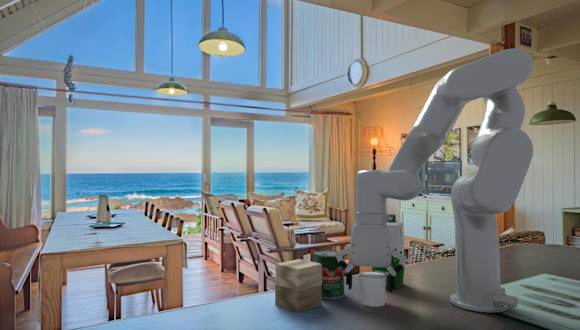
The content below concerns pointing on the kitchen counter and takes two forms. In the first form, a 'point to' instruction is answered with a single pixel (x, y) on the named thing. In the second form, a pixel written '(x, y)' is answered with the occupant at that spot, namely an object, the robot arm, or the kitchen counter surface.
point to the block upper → (298, 274)
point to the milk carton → (398, 246)
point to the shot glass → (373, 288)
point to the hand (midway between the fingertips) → (370, 289)
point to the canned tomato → (330, 274)
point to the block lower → (298, 298)
